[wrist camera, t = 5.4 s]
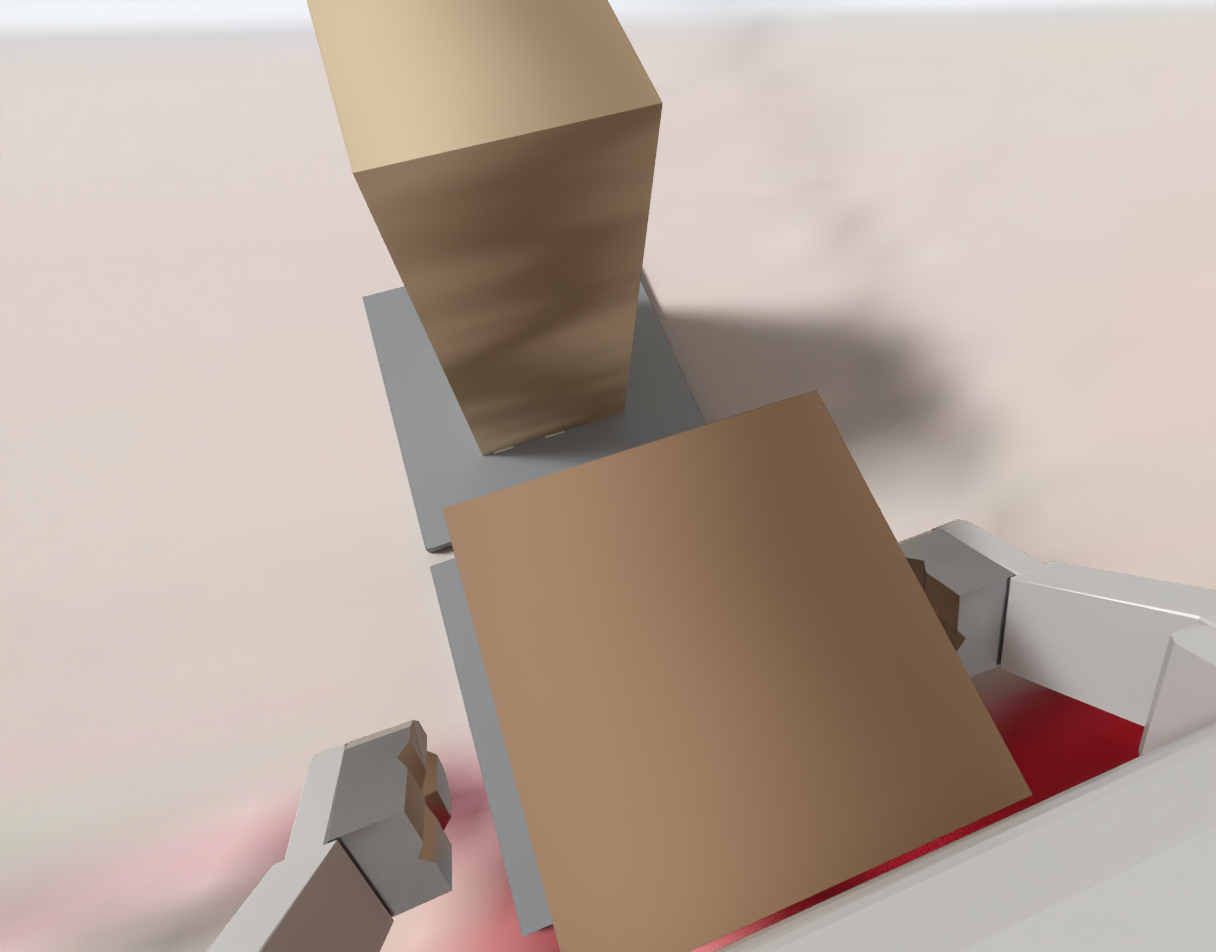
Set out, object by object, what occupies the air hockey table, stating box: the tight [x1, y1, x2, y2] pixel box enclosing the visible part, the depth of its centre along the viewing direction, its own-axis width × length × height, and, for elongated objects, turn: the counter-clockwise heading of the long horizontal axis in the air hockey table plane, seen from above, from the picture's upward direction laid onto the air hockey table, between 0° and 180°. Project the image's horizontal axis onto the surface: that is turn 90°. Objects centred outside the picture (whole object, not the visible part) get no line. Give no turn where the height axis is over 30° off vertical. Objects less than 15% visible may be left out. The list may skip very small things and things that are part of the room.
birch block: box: [307, 0, 662, 455], centre depth 13 cm, size 4×4×10 cm
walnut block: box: [442, 390, 1033, 952], centre depth 10 cm, size 4×4×10 cm
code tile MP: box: [363, 280, 706, 553], centre depth 18 cm, size 9×9×1 cm
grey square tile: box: [430, 558, 553, 937], centre depth 15 cm, size 9×9×1 cm
